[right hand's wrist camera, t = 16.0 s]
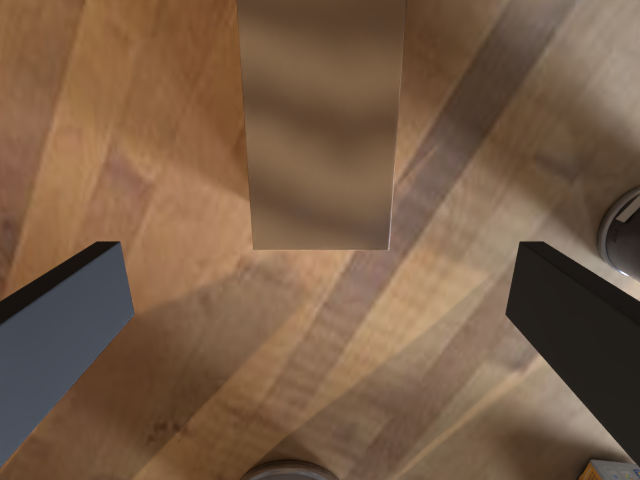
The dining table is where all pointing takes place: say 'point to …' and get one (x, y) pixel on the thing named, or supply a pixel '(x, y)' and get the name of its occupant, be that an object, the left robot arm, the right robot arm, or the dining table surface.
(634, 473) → the hard drive box
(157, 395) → the dining table surface
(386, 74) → the cabinet
